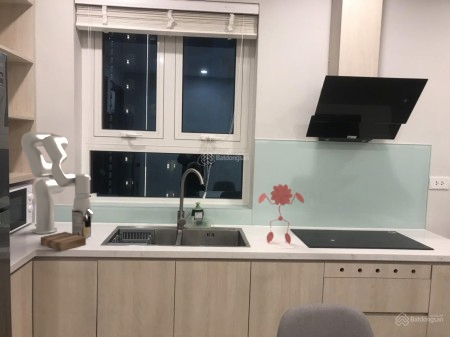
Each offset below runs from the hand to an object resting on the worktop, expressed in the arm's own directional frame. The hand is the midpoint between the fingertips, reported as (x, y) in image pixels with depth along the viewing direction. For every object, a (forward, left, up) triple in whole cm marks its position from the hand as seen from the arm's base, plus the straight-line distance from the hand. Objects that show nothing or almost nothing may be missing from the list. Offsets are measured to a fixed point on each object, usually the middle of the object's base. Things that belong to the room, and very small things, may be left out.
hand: (82, 225), depth 195 cm
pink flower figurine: (+96, +59, -7) cm, 112 cm away
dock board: (+3, -14, -7) cm, 16 cm away
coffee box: (0, 0, -7) cm, 7 cm away
